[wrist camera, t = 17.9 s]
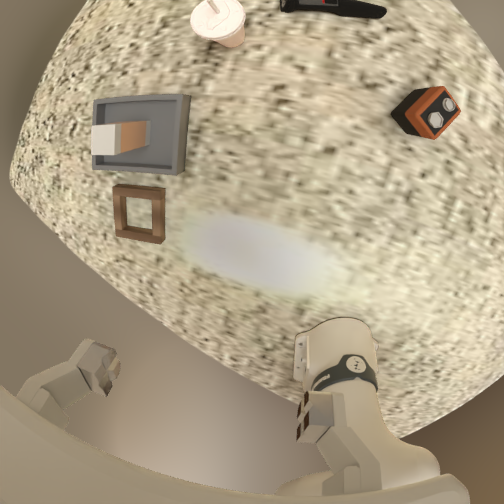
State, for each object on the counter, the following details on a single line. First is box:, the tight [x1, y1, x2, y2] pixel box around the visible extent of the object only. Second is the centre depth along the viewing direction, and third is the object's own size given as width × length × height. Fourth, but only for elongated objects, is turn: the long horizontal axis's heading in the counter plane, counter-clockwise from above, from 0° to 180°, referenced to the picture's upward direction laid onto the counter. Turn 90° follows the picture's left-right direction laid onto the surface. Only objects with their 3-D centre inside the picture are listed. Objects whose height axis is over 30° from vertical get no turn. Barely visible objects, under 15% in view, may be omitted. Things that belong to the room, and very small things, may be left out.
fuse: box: [91, 120, 151, 155], centre depth 33 cm, size 4×4×10 cm
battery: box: [391, 86, 461, 140], centre depth 27 cm, size 4×7×10 cm, turn 139°
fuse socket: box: [113, 184, 165, 244], centre depth 44 cm, size 9×9×2 cm
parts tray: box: [92, 94, 191, 175], centre depth 37 cm, size 12×16×4 cm
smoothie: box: [190, 0, 245, 48], centre depth 24 cm, size 6×6×14 cm
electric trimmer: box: [280, 0, 387, 18], centre depth 24 cm, size 4×16×3 cm, turn 91°
